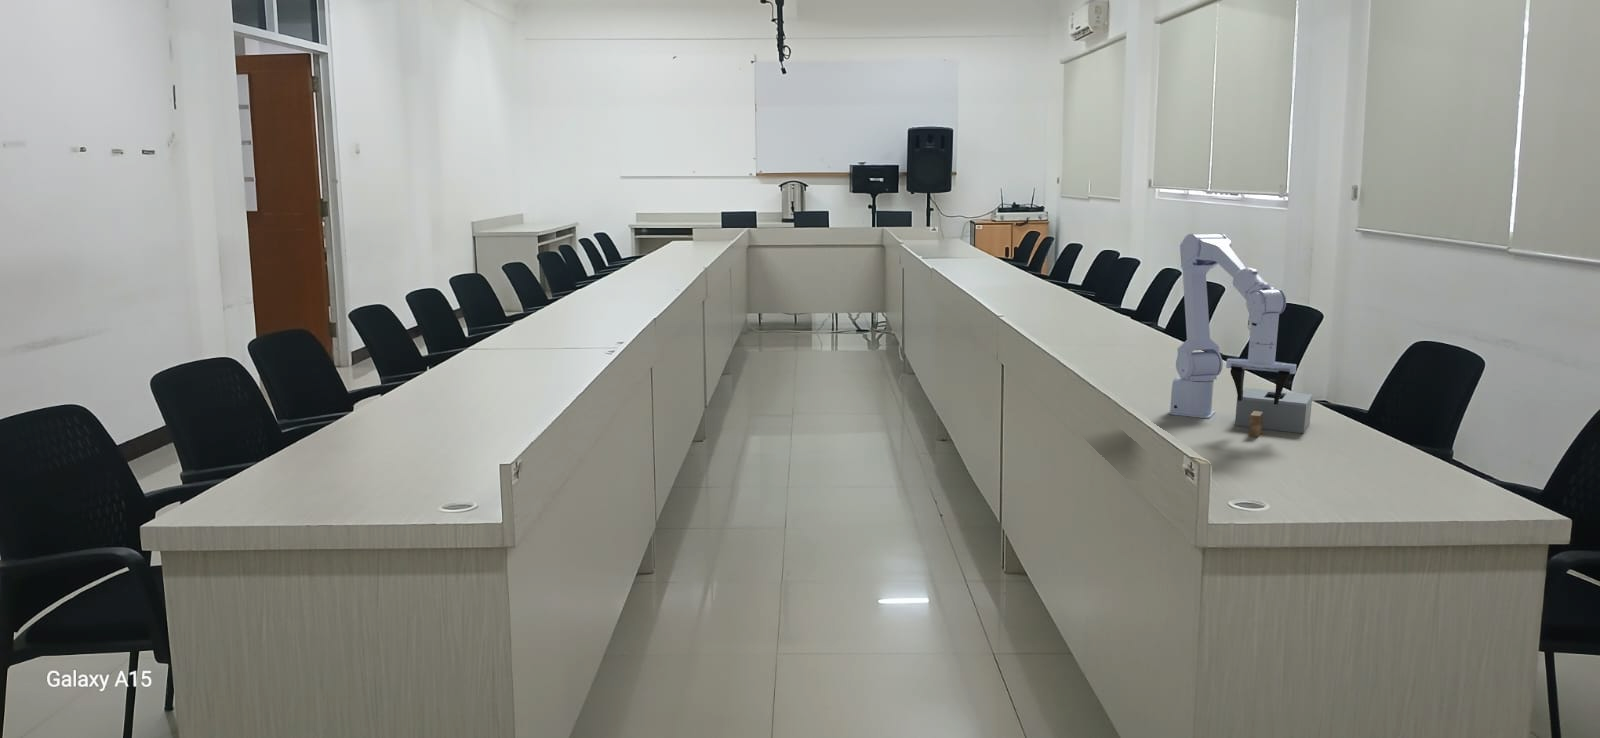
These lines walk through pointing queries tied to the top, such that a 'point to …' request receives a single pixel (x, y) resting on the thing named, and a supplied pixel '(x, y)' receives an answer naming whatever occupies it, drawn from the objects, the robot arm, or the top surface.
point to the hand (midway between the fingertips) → (1257, 401)
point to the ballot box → (1275, 410)
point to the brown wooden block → (1255, 424)
